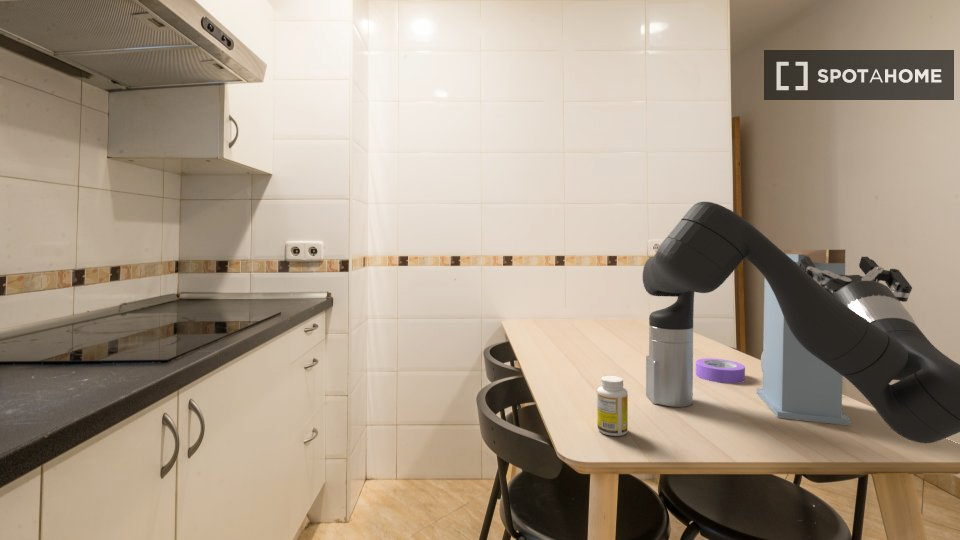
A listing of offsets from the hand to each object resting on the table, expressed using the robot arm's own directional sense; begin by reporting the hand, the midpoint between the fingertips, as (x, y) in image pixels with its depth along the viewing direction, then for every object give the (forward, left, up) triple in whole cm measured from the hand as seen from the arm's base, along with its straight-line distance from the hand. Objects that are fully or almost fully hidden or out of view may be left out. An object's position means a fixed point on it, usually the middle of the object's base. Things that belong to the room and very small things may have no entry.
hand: (833, 260), depth 77 cm
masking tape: (-2, +38, -33) cm, 50 cm away
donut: (+9, +32, -33) cm, 47 cm away
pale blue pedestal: (+4, +15, -32) cm, 36 cm away
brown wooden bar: (+3, +10, 0) cm, 11 cm away
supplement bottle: (-39, 0, -33) cm, 51 cm away
